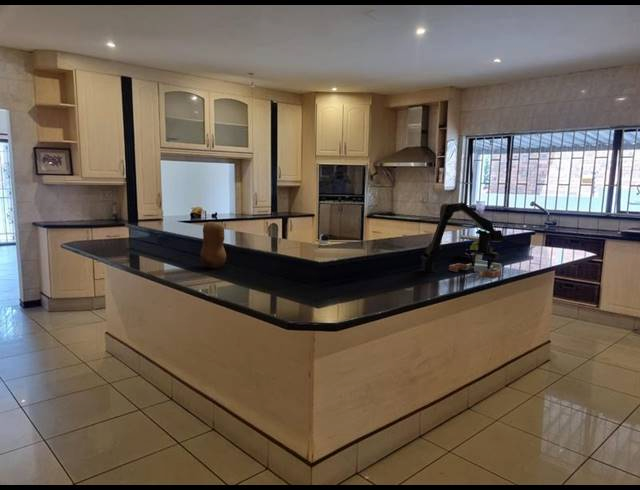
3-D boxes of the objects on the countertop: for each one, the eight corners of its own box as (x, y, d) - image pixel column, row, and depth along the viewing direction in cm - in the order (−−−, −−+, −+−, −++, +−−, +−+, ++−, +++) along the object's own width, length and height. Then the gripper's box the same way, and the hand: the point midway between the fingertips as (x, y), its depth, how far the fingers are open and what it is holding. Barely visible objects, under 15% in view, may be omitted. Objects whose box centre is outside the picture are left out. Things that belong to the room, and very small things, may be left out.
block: (492, 273, 261) (492, 267, 260) (473, 271, 264) (474, 265, 264) (492, 271, 266) (492, 265, 265) (474, 269, 270) (475, 263, 269)
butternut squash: (229, 266, 252) (229, 221, 247) (221, 271, 238) (222, 224, 234) (205, 264, 253) (205, 220, 249) (196, 269, 240) (196, 222, 236)
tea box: (458, 258, 304) (460, 236, 301) (458, 255, 313) (460, 234, 311) (482, 260, 299) (484, 238, 297) (481, 257, 309) (483, 236, 306)
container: (330, 253, 302) (330, 234, 300) (329, 255, 295) (330, 235, 293) (318, 252, 303) (319, 233, 301) (317, 254, 296) (318, 235, 293)
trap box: (487, 278, 246) (488, 273, 245) (448, 270, 264) (449, 265, 263) (507, 273, 260) (508, 268, 260) (469, 266, 278) (469, 261, 278)
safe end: (499, 272, 263) (500, 264, 262) (474, 267, 275) (475, 259, 274) (500, 272, 263) (501, 264, 262) (475, 267, 275) (476, 259, 275)
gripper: (505, 242, 259) (502, 269, 262) (476, 238, 273) (473, 263, 276) (496, 244, 252) (493, 271, 255) (466, 239, 266) (463, 265, 268)
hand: (480, 268), depth 263 cm, fingers open, 9 cm apart
